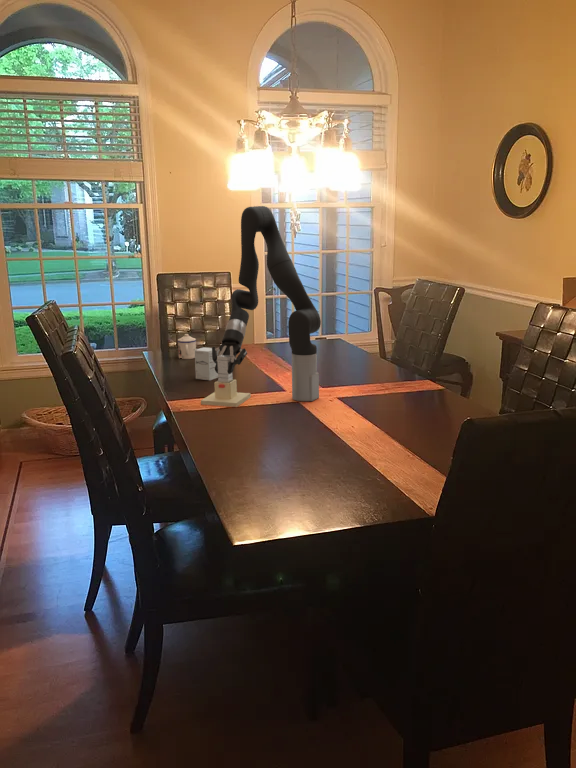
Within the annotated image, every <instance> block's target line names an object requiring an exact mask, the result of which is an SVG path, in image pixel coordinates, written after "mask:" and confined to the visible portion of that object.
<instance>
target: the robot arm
mask: <svg viewBox="0 0 576 768" xmlns="http://www.w3.org/2000/svg"><path fill="white" fill-rule="evenodd" d="M257 233H261V235H262V237H263V239H264V241H265V242H264V243H265V244H266V248H267V249H266V252H267V253H266V268H267V271H268V272H269V275H270V277H271V279H272V281H273V283H274V284H275V286H276V287H277V289H279V290H280V292H281V293H283V294H284V295H285V296H286V297H287V299H289V300H290V302H291V303H292V305H293V307H294V309H295V311H293V312H292V313H291V314H290V315H289V317H288V321H287V322H288V323H287V327H288V328H287V329H288V343H289V347H290V350H291V394H292V395H291V396H292V397H291V398H292V400H294V401H296V402H297V401H298V402H313V401H315V400H317V399H319V398H320V373H319V372H318V371H317V370H318V366H317V365H318V364H317V363H318V362H317V361H318V360H317V357H318V356H317V354H318V352H317V351H318V349H317V345H316V344H314V343H312V341H311V334H314V333H316V332H318V331H319V330H320V328H321V324H322V323H321V322H322V321H321V316H320V314H319V312H318V310H317V308H316V306H315V305H314V304H313V301H312V300H311V298H310V296H309V295H308V293H307V291H306V288H305V286H304V285H303V283H302V280H301V279H300V276H299V274H298V272H297V269H296V267H295V264H294V263H293V260H292V259H291V257H290V255H289V252H288V250H287V248H286V245H285V243H284V241H283V238H282V236H281V233H280V231H279V227H278V224H277V221H276V218H275V216H274V213H273V212H272V210H271V209H270V208H269V207H268V206H266V205H265V206H264V205H260V206H259V205H256V206H255V205H254V206H247V207H245V208H244V209H243V211H242V213H241V216H240V241H241V242H240V248H241V250H240V251H241V253H240V254H241V255H240V257H241V258H240V266H239V267H240V268H239V273H238V283H239V284H240V286H243V287H245V288H247V289H248V290H244V289H235V290H233V292H232V294H231V296H230V297H231V298H230V299H231V311H230V316H229V318H228V321H227V324H226V327H225V329H224V333H223V337H222V339H221V344H220V345H219V346H218V347H215V346H213V347H211V348H212V359H213V361H214V363H216V366H215V371H216V373H218V362H217V354H218V356H220V355H231V363H229V367H228V370H227V372H228V374H231V373H232V374H233V373H234V369H235V366H236V365H238V366H239V365H240V366H241V364H242V363H243V360H244V359H245V358H246V356H247V354H248V351H247V350H246V348H245V347H244V348H242V345H243V341H244V338H245V335H246V332H247V325H248V322H249V318H250V314H249V312H248V311H247V310H249V311H254V310H256V309H257V307H258V305H259V295H258V287H257V284H258V283H257V282H258V275H259V268H260V267H259V264H260V263H259V258H258V255H257V252H256V247H255V240H256V235H257Z"/></svg>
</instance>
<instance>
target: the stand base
mask: <svg viewBox="0 0 576 768" xmlns="http://www.w3.org/2000/svg"><path fill="white" fill-rule="evenodd" d="M213 384H214V392H212V393H211V394H209V395H208V396H206V397H204V398H203V399H200V405H206V406H219V407H231V408H238V407H239V406H240V405H242V404H243V403H244V402H246V401H247V400H249V399H250V398H251V396H252V393H250V392H238V386H237V379H233V381H231V382H230V383H222V382H218V380H216V381H215V382H214V383H213Z"/></svg>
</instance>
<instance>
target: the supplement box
mask: <svg viewBox="0 0 576 768" xmlns="http://www.w3.org/2000/svg"><path fill="white" fill-rule="evenodd" d="M218 356H219V353H218V354H217V357H218ZM194 366H195V367H194V369H195V380H204V381H212V380H216V379H218V373H216V371H215V366H216V363H214V361H213V359H212V347H200V348H196V350H195V358H194Z"/></svg>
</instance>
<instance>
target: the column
mask: <svg viewBox="0 0 576 768" xmlns="http://www.w3.org/2000/svg"><path fill="white" fill-rule="evenodd" d="M217 362H218V378H217V379H218V380H217V381H218V382H222V383H230V382H231V381H233V378H234V377H233V376H234V375H233V372H232V373H231V374H228V372H227V370H228V367H229V363H231V355H220V356H219V355H218V357H217Z"/></svg>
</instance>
